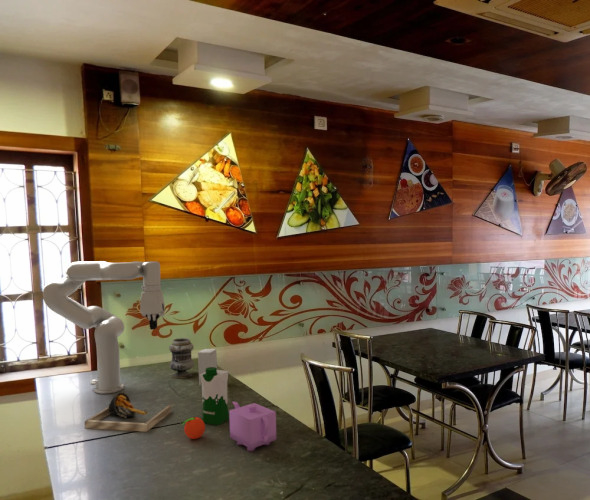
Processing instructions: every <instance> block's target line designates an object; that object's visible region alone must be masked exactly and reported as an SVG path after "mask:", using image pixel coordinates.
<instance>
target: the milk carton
mask: <svg viewBox="0 0 590 500" xmlns="http://www.w3.org/2000/svg"><path fill="white" fill-rule="evenodd" d="M200 378H201V383H202V386H201V397H202V399H201V400H202V401H201V402H202V420H203V422H204V424H209V425H213V426H220V425H221V424H223V423H224V422H226V421H227V420H230V416H229V406H228V405H229V404H228V403H229V402H228V400H229V399H228V380H229V370H224V369H222V370H221V369H218V367H217V368H215V367H209V368H206V372H204V373H202V374H200Z"/></svg>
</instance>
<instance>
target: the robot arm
mask: <svg viewBox="0 0 590 500" xmlns="http://www.w3.org/2000/svg"><path fill="white" fill-rule="evenodd" d="M138 278H142V279H143V280H142V282H143V283H142V284H143V285H141V287H140V289H141V290H142V291H141V295H140V305H139V308H140V309H139V310H140V311H139V312H140V314H141V316H142V317H144V318H145V317H146V319H147V320H148V322H149V324H148V325H149V329H150V330H156V329H158V319H160V317H164V316H165V310H166V309H165V307H166V306H165V298H164V294H163V291H162V286H161V283H162V282H161V264H160V262H159V261H131V262H107V261H104V260H103V261H102V260H100V261H83V260H82V261H73V262H71V263H69V264H68V265H67V266H66V269H65V275H64V276H63V277H62V278H58V279H54V280H51V281H49V282H48V283H46V284H45V285H44V287H43V289H42V290H43V291H42V298H43V302H44V304H45V305H46V306H47V308H49V309H50V310H51V312H54V313H55V314H57V315H59V316H61V317H63V318H64V319H66V320H68V321H69V322H71V323H73V324H75V325H76V326H78V327H79V328H81V329H84V330H89V329H92V328H95V329H94V340H95V346H96V347H95V348H96V361H97V363H96V364H97V366H96V367H97V368H96V369H97V379H92V380H91V382H90V385H91V386H95V388H94V389H93V390H94V392H95V393H96V394H101V395H103V394H104V395H106V394H112V393H117V392H121V391H122V390H123V389H125V385H124V384H123V383H121V365H120V363H121V362H120V345H119V340H118V337H120V336H121V335H122V334H123V333H124V331H125V324H124V322H123V320H122V319H121V318H120V317H118V316H116V315H115V314H113V313H112V312H109V311H108V310H106V309H104V308H102V307H101V306H98V305H90V306H85V305H83V304H81V303H79V302H78V301H76V300H74V299H72V298H69V297H68V296H71V295H73V294H74V293H75V292H76V291H77V290H78V289H79V288H80V287H81V286H82V285H83V284H85V283H86V281H112V280H113V281H118V280H119V281H122V280H123V281H124V280H127V281H128V280H135V279H138Z"/></svg>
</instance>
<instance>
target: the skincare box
mask: <svg viewBox="0 0 590 500" xmlns="http://www.w3.org/2000/svg"><path fill="white" fill-rule="evenodd" d="M217 355H218V354H217V348H204V349H202V350H200V351H198V352H197V359H198V361H197V362H198V382H199V383H198V384H199V385H198V386H199V387H200V386H201V387H202V383H201V378H200V374H202V373H204V372H206V368H209V367H215V368H217V369H218V357H217Z"/></svg>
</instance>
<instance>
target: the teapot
mask: <svg viewBox="0 0 590 500" xmlns="http://www.w3.org/2000/svg"><path fill="white" fill-rule="evenodd" d="M231 403H232V404H233V406H234V408H233V409H230V410H228V414H229V438H230V439H232V440H233V441H236V444H235V445H238V446H245V447H246V450H247V451H248V452H253V451H255V450H256V448H258V447H261V446H269V445H270V444H271V443H272V442H274V441H276V440H277V411H275V410H272V409H270V408H268V407H266V406H262V405H260V404H258V403H255V402H253V403H249V404H246V405H243V406H240V404H239V402H237V401H231Z"/></svg>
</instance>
